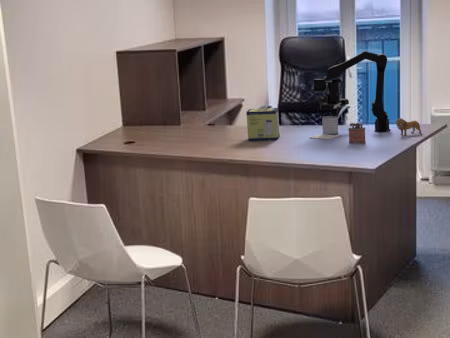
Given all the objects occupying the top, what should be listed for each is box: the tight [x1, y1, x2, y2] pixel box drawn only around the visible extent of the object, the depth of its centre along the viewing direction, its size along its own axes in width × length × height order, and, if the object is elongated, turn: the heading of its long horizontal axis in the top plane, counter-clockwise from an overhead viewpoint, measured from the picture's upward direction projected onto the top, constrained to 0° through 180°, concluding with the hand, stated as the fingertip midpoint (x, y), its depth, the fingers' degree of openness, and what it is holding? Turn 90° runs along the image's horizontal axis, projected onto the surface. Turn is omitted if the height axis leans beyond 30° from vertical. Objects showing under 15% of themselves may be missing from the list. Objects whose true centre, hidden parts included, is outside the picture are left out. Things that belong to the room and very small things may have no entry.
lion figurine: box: [395, 117, 422, 137], centre depth 358 cm, size 15×5×9 cm, turn 113°
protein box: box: [246, 107, 281, 142], centre depth 374 cm, size 10×16×16 cm
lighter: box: [347, 122, 367, 145], centre depth 345 cm, size 8×3×10 cm, turn 71°
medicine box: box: [321, 115, 339, 135], centre depth 374 cm, size 8×4×9 cm, turn 84°
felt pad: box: [309, 133, 340, 141], centre depth 368 cm, size 12×10×1 cm
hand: (335, 120), depth 377 cm, fingers closed
